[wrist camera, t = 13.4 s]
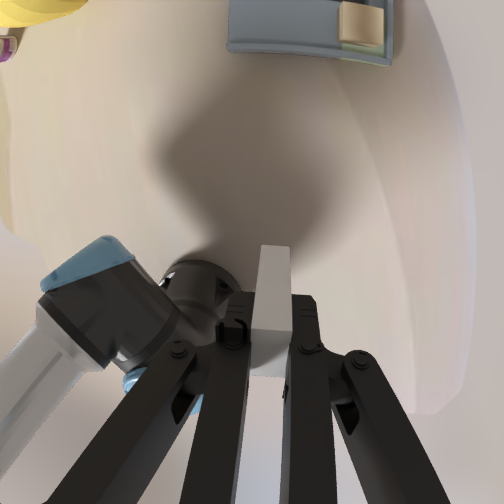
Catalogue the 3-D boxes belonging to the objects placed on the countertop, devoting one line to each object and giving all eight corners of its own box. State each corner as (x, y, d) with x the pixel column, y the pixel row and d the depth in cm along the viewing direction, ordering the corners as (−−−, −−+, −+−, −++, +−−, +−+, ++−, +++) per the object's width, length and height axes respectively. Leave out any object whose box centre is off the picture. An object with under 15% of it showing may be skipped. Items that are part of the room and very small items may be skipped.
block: (336, 42, 32) (342, 37, 29) (337, 8, 30) (343, 1, 27) (373, 48, 32) (383, 44, 29) (374, 15, 30) (383, 8, 26)
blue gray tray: (230, 52, 36) (225, 48, 33) (234, -38, 29) (230, -48, 26) (383, 66, 35) (392, 65, 32) (383, -23, 28) (391, -31, 25)
